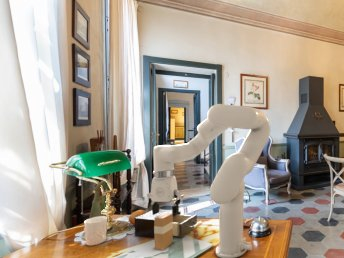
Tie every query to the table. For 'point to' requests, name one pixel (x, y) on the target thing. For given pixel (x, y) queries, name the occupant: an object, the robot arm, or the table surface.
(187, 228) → the drawer
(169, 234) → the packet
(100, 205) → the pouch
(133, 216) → the fruit
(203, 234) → the table surface
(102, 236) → the white cup
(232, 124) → the robot arm
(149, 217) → the cabinet
